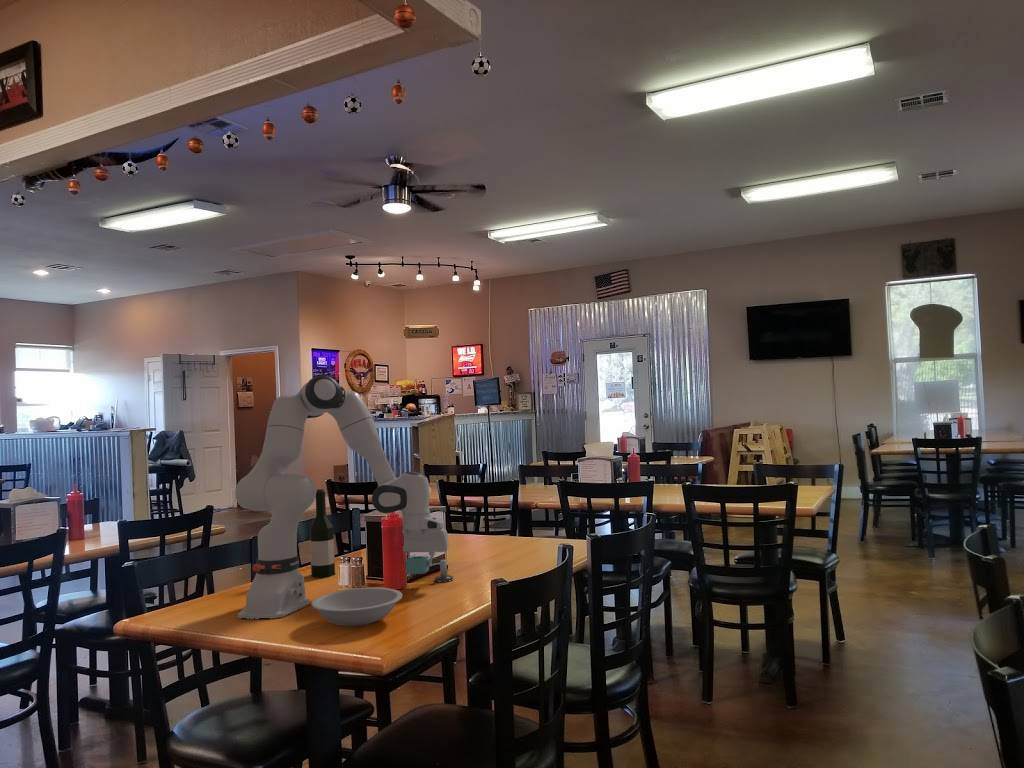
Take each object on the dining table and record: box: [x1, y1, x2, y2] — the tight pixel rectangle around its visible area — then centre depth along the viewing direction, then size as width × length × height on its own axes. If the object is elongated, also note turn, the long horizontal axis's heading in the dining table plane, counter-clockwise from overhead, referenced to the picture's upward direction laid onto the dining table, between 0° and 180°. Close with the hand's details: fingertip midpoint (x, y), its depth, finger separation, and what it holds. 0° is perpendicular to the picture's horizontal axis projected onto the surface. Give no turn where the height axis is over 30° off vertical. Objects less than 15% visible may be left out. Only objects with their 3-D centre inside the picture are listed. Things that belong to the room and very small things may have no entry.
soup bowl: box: [310, 587, 403, 627], centre depth 202 cm, size 24×24×7 cm
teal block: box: [405, 555, 430, 575], centre depth 240 cm, size 6×6×4 cm
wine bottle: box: [309, 488, 336, 579], centre depth 264 cm, size 8×8×30 cm
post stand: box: [434, 559, 454, 583], centre depth 248 cm, size 6×6×6 cm
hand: (417, 566), depth 240 cm, fingers closed on teal block, 6 cm apart
